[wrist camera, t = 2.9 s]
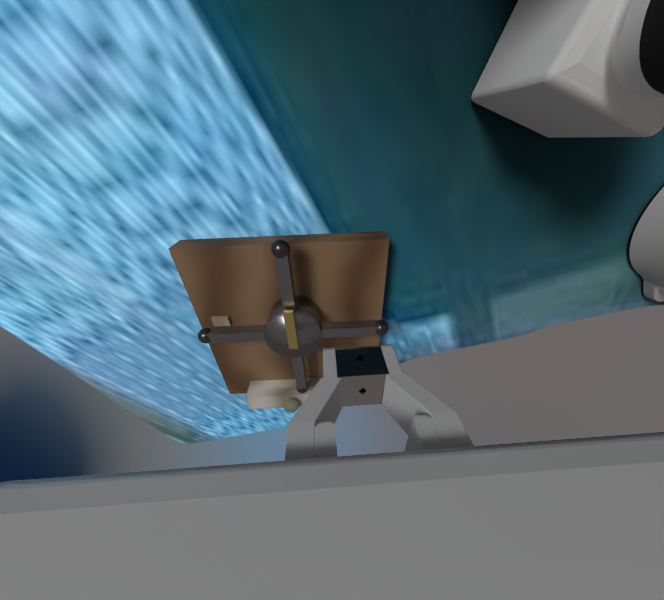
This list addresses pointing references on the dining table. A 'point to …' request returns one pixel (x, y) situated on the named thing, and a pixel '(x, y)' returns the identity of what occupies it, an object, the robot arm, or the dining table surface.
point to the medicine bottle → (579, 68)
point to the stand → (263, 291)
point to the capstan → (292, 323)
